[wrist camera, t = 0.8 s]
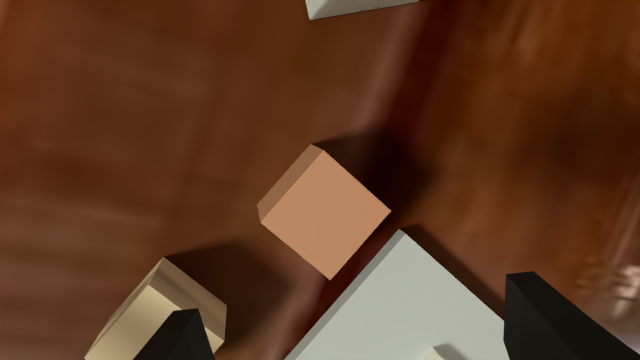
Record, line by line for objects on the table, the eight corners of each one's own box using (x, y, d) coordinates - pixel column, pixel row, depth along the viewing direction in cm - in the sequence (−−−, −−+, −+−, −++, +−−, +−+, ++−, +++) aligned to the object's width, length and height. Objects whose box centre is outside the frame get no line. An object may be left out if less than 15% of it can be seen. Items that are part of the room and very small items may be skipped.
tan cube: (316, 253, 28) (330, 280, 24) (257, 204, 27) (260, 222, 23) (367, 195, 28) (391, 210, 24) (310, 144, 27) (323, 150, 23)
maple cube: (174, 364, 28) (162, 411, 24) (109, 317, 27) (83, 358, 23) (226, 304, 28) (224, 341, 24) (163, 256, 27) (148, 284, 23)
